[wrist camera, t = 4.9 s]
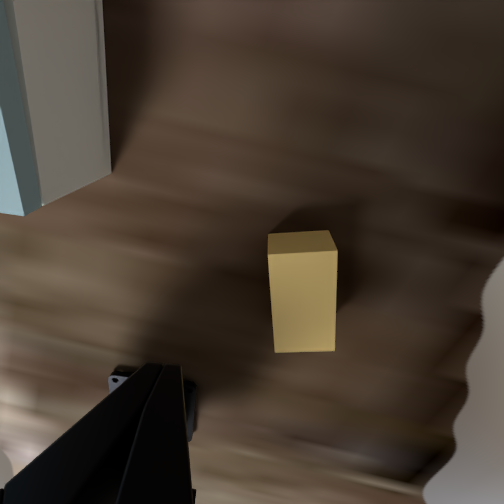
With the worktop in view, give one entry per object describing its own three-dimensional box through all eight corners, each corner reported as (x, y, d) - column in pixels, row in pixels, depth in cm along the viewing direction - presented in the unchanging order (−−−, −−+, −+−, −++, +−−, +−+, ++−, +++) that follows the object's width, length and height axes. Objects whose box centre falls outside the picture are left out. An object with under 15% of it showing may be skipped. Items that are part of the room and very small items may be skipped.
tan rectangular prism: (326, 319, 22) (334, 350, 19) (274, 321, 22) (274, 352, 19) (327, 228, 19) (337, 250, 16) (268, 232, 19) (267, 254, 16)
